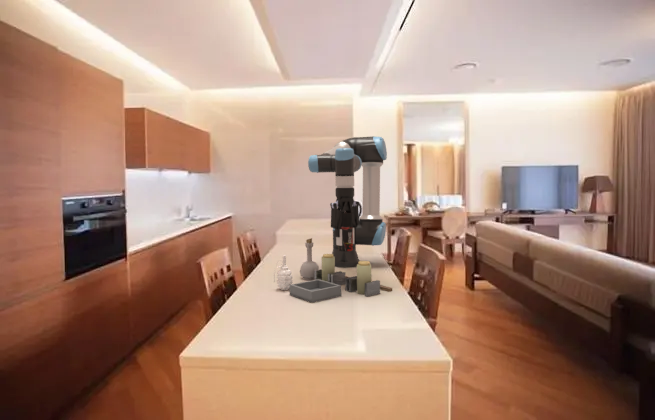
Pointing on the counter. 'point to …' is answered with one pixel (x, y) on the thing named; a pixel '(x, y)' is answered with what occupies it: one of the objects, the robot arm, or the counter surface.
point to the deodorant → (347, 232)
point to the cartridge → (327, 265)
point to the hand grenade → (284, 276)
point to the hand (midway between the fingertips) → (345, 244)
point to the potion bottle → (308, 263)
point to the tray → (315, 290)
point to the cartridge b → (363, 275)
